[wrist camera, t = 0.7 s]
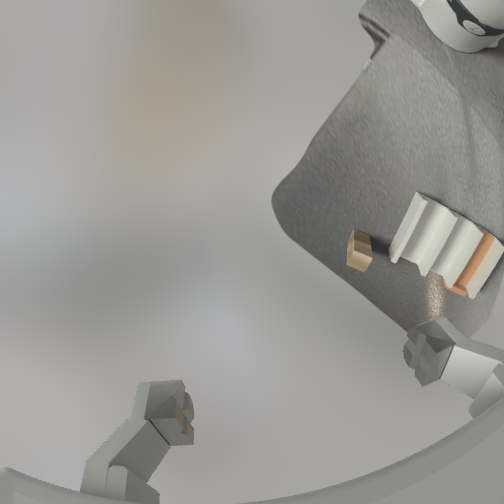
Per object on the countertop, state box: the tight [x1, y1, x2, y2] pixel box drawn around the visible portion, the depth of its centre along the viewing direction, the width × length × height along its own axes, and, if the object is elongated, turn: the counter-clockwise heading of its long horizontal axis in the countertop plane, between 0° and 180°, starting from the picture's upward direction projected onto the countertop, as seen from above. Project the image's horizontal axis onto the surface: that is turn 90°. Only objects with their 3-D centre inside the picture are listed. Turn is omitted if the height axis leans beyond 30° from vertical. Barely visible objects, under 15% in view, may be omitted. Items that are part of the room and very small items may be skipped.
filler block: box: [347, 229, 372, 272], centre depth 49 cm, size 3×4×9 cm
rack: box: [389, 191, 504, 299], centre depth 45 cm, size 14×22×5 cm, turn 75°
